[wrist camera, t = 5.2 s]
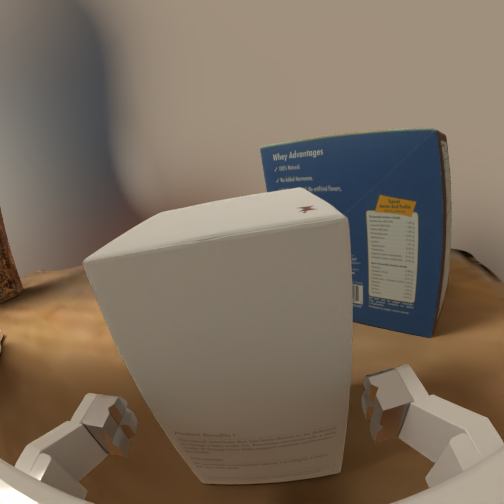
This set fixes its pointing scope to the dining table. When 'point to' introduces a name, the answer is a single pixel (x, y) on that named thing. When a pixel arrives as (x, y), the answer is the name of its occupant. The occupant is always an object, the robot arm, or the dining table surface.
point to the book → (7, 269)
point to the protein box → (381, 215)
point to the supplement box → (238, 331)
